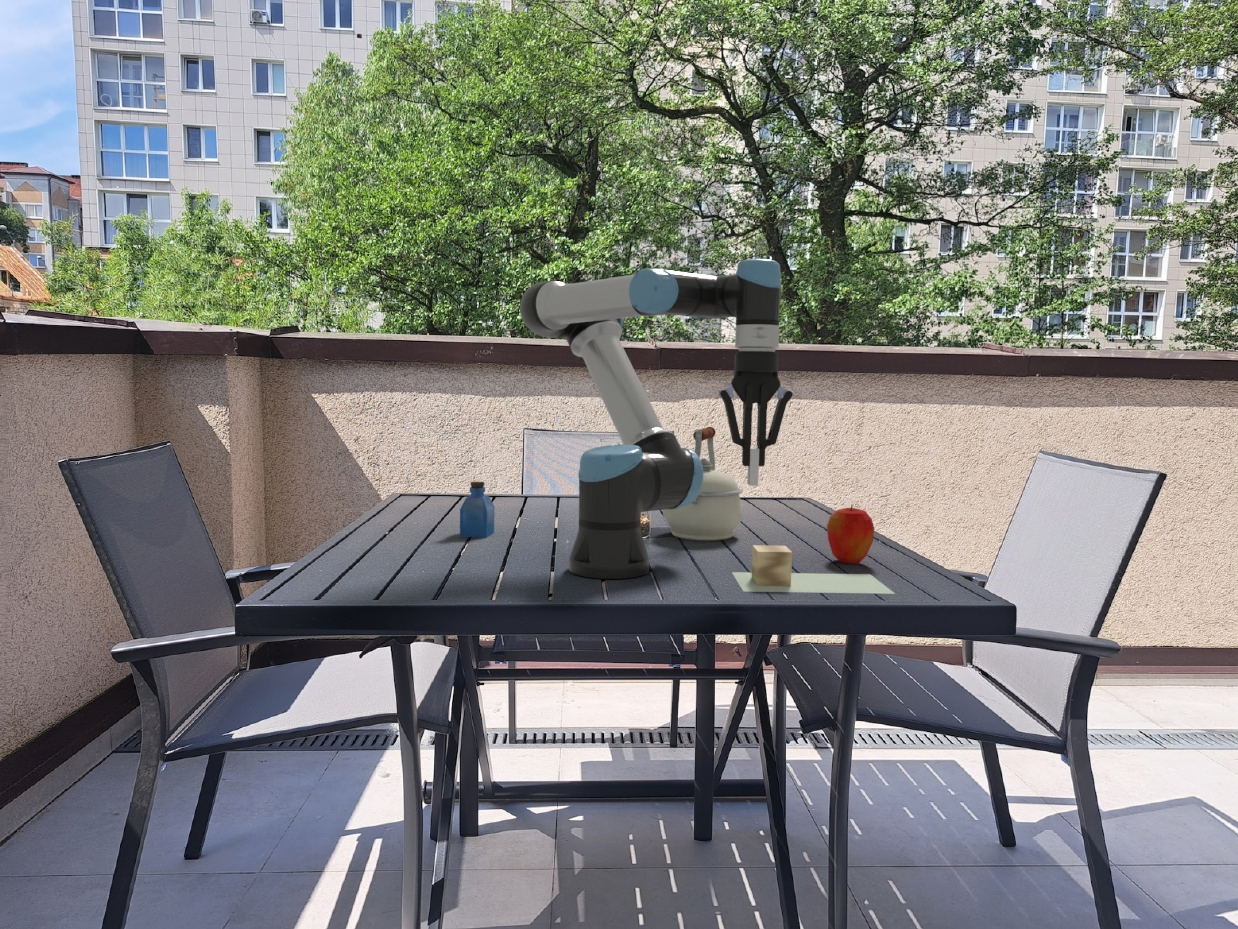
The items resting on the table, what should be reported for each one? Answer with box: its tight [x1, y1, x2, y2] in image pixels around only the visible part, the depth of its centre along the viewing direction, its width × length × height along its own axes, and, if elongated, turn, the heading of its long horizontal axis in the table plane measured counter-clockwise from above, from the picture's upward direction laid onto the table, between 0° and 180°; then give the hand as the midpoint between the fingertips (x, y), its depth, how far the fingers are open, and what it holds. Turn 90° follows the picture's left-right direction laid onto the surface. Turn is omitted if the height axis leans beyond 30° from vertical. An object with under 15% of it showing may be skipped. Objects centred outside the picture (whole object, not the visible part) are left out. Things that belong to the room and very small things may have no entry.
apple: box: [826, 503, 875, 565], centre depth 181 cm, size 9×9×12 cm
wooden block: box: [751, 544, 793, 586], centre depth 162 cm, size 6×6×6 cm
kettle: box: [662, 426, 744, 542], centre depth 211 cm, size 25×18×25 cm
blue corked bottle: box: [459, 481, 495, 539], centre depth 206 cm, size 6×6×12 cm
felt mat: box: [731, 571, 896, 595], centre depth 163 cm, size 26×15×1 cm, turn 91°
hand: (752, 484), depth 161 cm, fingers closed
